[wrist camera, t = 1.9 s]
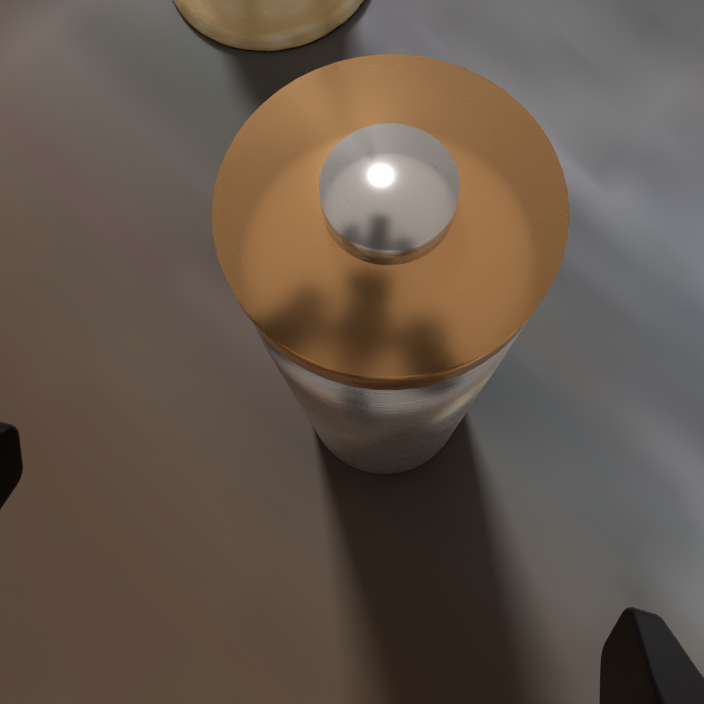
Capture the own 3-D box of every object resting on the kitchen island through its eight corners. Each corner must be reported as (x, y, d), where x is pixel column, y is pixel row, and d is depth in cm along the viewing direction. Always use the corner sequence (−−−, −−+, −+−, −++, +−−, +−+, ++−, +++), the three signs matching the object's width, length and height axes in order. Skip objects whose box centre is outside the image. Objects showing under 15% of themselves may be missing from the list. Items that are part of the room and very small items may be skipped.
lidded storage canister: (389, 507, 20) (404, 451, 8) (278, 403, 21) (125, 199, 9) (490, 393, 21) (658, 169, 8) (378, 299, 22) (376, -30, 9)
